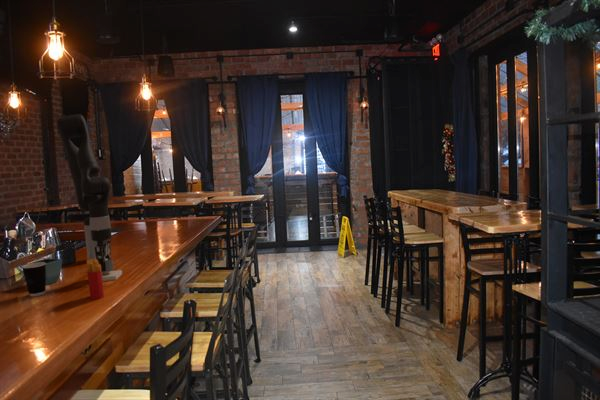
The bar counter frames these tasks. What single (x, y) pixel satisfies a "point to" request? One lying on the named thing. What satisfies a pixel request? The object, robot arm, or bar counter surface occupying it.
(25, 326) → the bar counter surface
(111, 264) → the ring
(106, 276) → the stand
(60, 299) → the bar counter surface
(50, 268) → the flower pot
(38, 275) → the dixie cup
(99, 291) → the french fries
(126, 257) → the bar counter surface
